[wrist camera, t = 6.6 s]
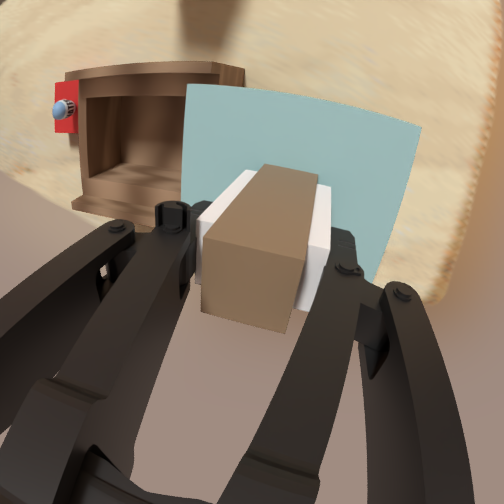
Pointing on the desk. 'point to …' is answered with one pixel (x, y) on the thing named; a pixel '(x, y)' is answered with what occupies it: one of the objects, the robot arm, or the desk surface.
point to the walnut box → (136, 133)
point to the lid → (286, 189)
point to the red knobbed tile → (66, 107)
